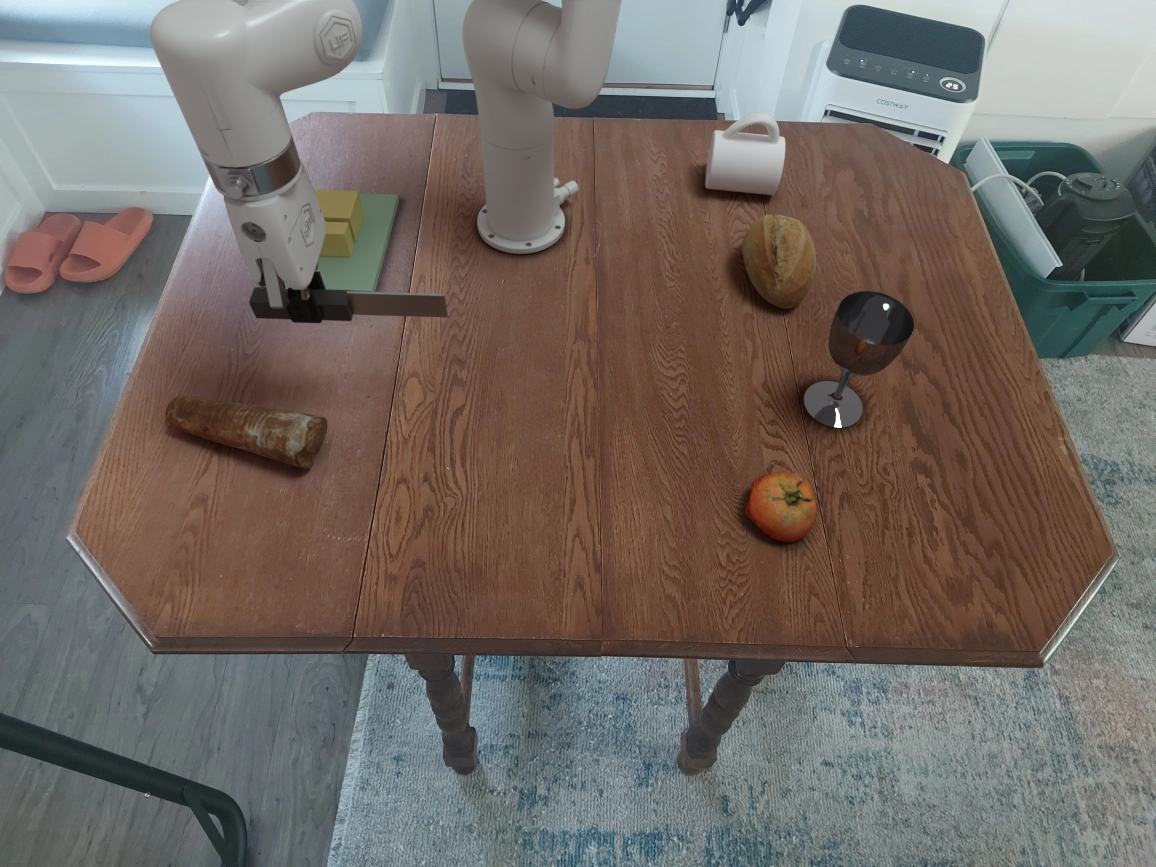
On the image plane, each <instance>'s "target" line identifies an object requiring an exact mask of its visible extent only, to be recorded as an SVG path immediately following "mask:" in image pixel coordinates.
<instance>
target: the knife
mask: <svg viewBox="0 0 1156 867" xmlns="http://www.w3.org/2000/svg"><path fill="white" fill-rule="evenodd" d="M309 292H314V295H315V298H316V300H317V303H318V306H319V309H320V311H321V314H322V317H323V319H322V321H331V322H333V321H335V322H352V320H353V317H354V316H381V317H382V316H383V317H415V318H418V317H419V318H448V317H449V314H448V309H447V302H446V295H445V293H428V292H427V293H423V292H389V291H375V292H362V291H350V290H328V289H309ZM248 304H249V306H250V308H251V310H252V313H253V314H254V316H255V318H256V319H262V320H263V319H266V320H291V319H290V317H289V314H288V312H287V310H286V308H285V309H274V308H271V307H270V303H269V298H268V293H267V288H266V287H265V288H263V289H261V288H260V287H259V286H257V287H256V286H254V288H253V289H252V292H251V295H250V297H249V300H248Z"/></svg>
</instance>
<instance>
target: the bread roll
mask: <svg viewBox="0 0 1156 867" xmlns="http://www.w3.org/2000/svg"><path fill="white" fill-rule="evenodd" d="M741 243H742V245H741V251H742V257H743V262H744V266H745V270H746V273H747V276H748V277H749V280H750V283H751V284H752V286H753V287H754V289H755V290H756V291H757V293H758V294H759V295H760V296H761V297H762V298H763V299H764V300H765V301H767V302H768V303H770V304H771V305H773V306H775V307H778V308H780V309H792V308H794V307H796V305H798V304H799V303H800V302H801V301H803V299H804V298H806V296H807V295H808V293H809V292H810V289H811V288H812V286H813V283H814V281H815V278H816V272H817V251H816V247H815V245H814V241H813V238H812V236H811V234H810V232H809V230H808V229H807V227H806V226H805V225H804V223H802V221H800V220H799V219H796V218H794V217H791V216H786V215H782V214H773V213H771V214H764V215H763V216H761V217H759V218H757V219H756V220H755V221H754V222H753V223H752V224H751V225H750V226H749V228H748V229H747V231H746V232H745V234H744V236H743V238H742V242H741Z"/></svg>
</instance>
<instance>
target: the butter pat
mask: <svg viewBox="0 0 1156 867" xmlns="http://www.w3.org/2000/svg"><path fill="white" fill-rule="evenodd" d="M353 249H354V242H353V238H352V235H351V231H350V228H349V224H348V223H347V222H326V233H325V238H324V241H323V245H322V248H321V252H320V255H319V256H332V257H351V256H352V252H353Z"/></svg>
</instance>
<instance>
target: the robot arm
mask: <svg viewBox="0 0 1156 867" xmlns="http://www.w3.org/2000/svg"><path fill="white" fill-rule="evenodd" d="M621 6H622V0H561V6H557V5H554V4H552V3H550V2H548V1H545V0H472V1H471V2H470V4H469V6H468V7H467V10H466V12H465V14H464V18H463V22H462V32H461V36H462V37H461V38H462V47H463V52H464V57H465V61H466V64H467V67H468V70H469V74H470V77H471V80H472V85H473V88H474V92H475V93H474V94H475V99H476V105H477V113H478V114H477V115H478V123H479V124H478V125H479V137H480V148H481V158H482V159H481V160H482V170H483V182H484V191H485V192H484V193H485V204H484V205H483V206H482V207H481V209H480V210H479V212H478V214H477V217H476V218H477V219H476V220H477V221H476V223H477V224H476V225H477V230H478V233H479V236H480V238H481V239H482V240H483V241H484V243H486V244H488V246H490V247H492V248H494V249H496V250H498V251H500V252H503V253H507V254H514V255H515V254H516V255H526V254H534V253H537V252H541V251H544V250H546V249H549V248H550V247H552V246H554V245H555V244H556V243H557V242H558V241H559V240H560V239H561V237H562V236H563V234H564V232H565V228H566V217H565V213H564V212H563V209H562V208H561V207H560V206H561V205H563V204H564V203H565V200H566V199H569V198H571V197H573V196H575V195H577V194H578V193H579V192H580V187H579V185H578V183H577V182H576V181H575V180H570V181H568V182H566V183H565V184H563V185H561V182H560V179H559V178H558V177H555V112H554V106H553V104H554V105H556V106H559V107H562V108H566V109H569V110H580V109H584V108H586V107H589V106H590V105H591V104H592V103H594V101H595V100H596V99H597V98H598V96H599V94H600V93H601V92H602V89H603V86H604V84H605V82H606V79H607V76H608V72H609V69H610V64H611V59H612V55H613V49H614V43H615V39H616V33H617V27H618V24H619V23H618V22H619V17H620V11H621ZM361 17H362V16H361V14H360V11H359V9H358V7H357V5H356V4H355V2H354V1H353V0H177V1H175V2H172V3H170V4H168V5H166V6H165V7H163V8H161V9H160V10H159V11H158V12H157V13H156V15H155V16H154V18H153V19H152V21H151V24H150V28H149V37H150V44H151V45H152V48H153V51H154V53H155V55H156V58H157V60H158V62H159V65H160V67H161V69H162V71H163V74H164V76H165V79H166V81H167V82H168V85H169V87H170V89H171V91H172V94H173V96H174V98H175V100H176V104H177V105H178V107H179V110H180V111H181V114H182V117H183V118H184V120H185V122H186V125H187V127H188V130H189V132H190V134H191V136H192V138H193V140H194V143H195V145H196V147H197V150H198V152H199V154H200V157H201V159H202V161H203V163H204V165H205V168H206V170H207V172H208V174H209V177H210V179H211V181H212V183H213V185H214V188H215V189H216V191H217V192H218V193H220V194H221V195H222V196H223V202H224V205H225V209H226V213H227V216H228V220H229V222H230V226H231V230H232V233H233V234H234V237H235V241H236V243H237V246H238V248H239V252H240V254H241V256H242V259H243V262H244V264H245V266H246V268H247V270H248V273H249V274H250V276H251V278H252V280H253V281H254V283H255V285H256V286H257V287H260V288H261V289H263V288H267V293H268V298H269V303H270V307H271V308H274V309H285V308H286V310H287V312H288V314H289V317H290V319H289V320H290V321H291V322H292V323H294V324H299V323H300V324H321V323H322V322H323V320H322V319H323V317H322V314H321V311H320V309H319V306H318V303H317V300H316V298H315V295H314V292H309V289H326V288H325V285H324V283H323V280H322V277H321V274H320V271H315V270H318V258H319V255H320V252H321V248H322V245H323V241H324V238H325V233H326V222H325V219H324V216H323V213H322V210H321V208H320V205H319V202H318V199H317V197H316V194H315V192H314V191H315V189H314V186H313V184H312V181H311V179H310V177H309V175H308V172H307V170H306V168H305V166H304V164H303V162H302V160H301V158H300V155H299V151H298V149H297V146H296V143H295V140H294V137H293V133H292V130H291V128H290V125H289V122H288V121H289V120H288V118H287V114H286V113H285V109H284V106H283V102H282V100H281V96H282V95H283V94H285V93H288V92H291V91H294V90H297V89H300V88H303V87H308V86H310V85H314V84H316V83H320V82H323V81H325V80H328V79H330V78H332V77H335V76H336V75H339V74H340V73H341V72H342V71H344V70H345V69H346V68H347V67H349V65H351V63H352V62H353V61H354V59H355V58H356V56H357V55H358V53H359V50H360V48H361V45H362V41H363V33H364V32H363V23H362V22H363V21H362V18H361ZM560 186H561V187H560ZM558 187H559V188H558ZM284 282H285V283H286V284H287V285H288V286H289V287H290V288H288V287H285V284H284Z"/></svg>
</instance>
